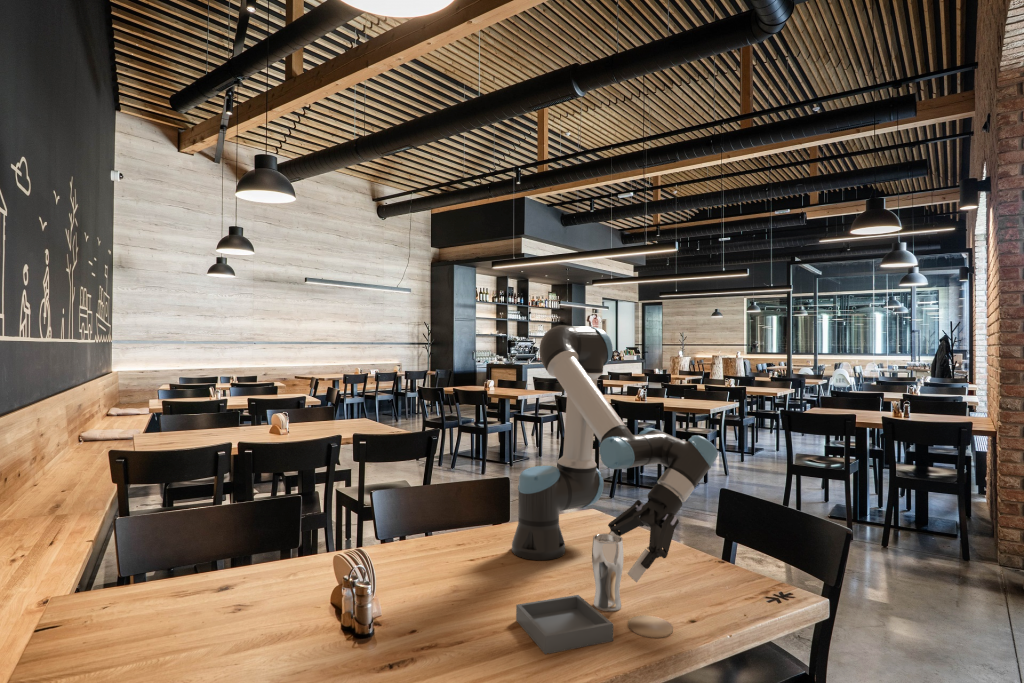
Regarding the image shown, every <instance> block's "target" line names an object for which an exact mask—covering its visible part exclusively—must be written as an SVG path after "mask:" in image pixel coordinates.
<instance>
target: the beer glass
mask: <svg viewBox="0 0 1024 683" xmlns="http://www.w3.org/2000/svg"><path fill="white" fill-rule="evenodd" d="M623 542H624V540H623V537H621V536H618V535H614V534H609V533H599V534H595V535H593V537H592V546H591V547H592V548H591V564H592V571H593V577H594V578H593V579H594V583H595V584H594V586H595V593H594V598H593V607H594V608H595V609H596V610H598V611H599V610H600V611H603V612H617V611H620V610H621V608H622V600H621V595H620V587H621V580H622V576H623V575H622V574H623V570H624V543H623Z"/></svg>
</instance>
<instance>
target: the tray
mask: <svg viewBox="0 0 1024 683" xmlns="http://www.w3.org/2000/svg"><path fill="white" fill-rule="evenodd" d="M515 609H516V610H515V611H516V613H515V614H516V615H515V621H516V622H517V623H518V624H519V626H520V627H521V628H522V629H523V631H525V633H526V634H527V635H528V636H529V637H530V638H531V639H532V641H533V642H534V643H535V644H536V645H537V647H538V648H539V649H540V650H541V651H542V653H544V655H548V654H547V653H549V654H553V653H558V652H564V651H568V650H573V649H579V648H584V647H589V646H595V645H599V644H604V643H609V642H613V641H614V623H613V622H612V621H610V619H608V618H607V617H606V616H605V615H603V614H602V613H601V612H600V611H599V610H598V609H597V608H596V607H595V606H593V605H591V603H589V602H588V601H586V599H584V598H583V597H582V596H580V595H579V594H575V595H568V596H564V597H563V596H562V597H555V598H549V599H543V600H538V601H537V600H536V601H530V602H525V603H519V604H516V606H515Z"/></svg>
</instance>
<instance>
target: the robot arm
mask: <svg viewBox="0 0 1024 683" xmlns="http://www.w3.org/2000/svg"><path fill="white" fill-rule="evenodd" d="M538 350H539V357H540V361H541V364H542V366H543V368H544V369H545V370H546V372H547V374H548V375H549V376H551V377H555V378H556V380H557V381H558V383H559V384H560V386H561V387H562V389H563V390H564V391H565V393H566V408H565V420H564V421H565V422H564V437H563V438H564V439H563V453H562V456H561V457H560V458H559V459H558V460H557V466H553V465H542V466H541V465H537V466H536V465H535V466H531V467H528V468H526V469H524V470H522V471H521V472H520V474H519V476H518V477H519V478H518V484H517V485H518V486H517V491H518V506H517V508H518V518H517V519H518V520H517V526H516V529H515V532H514V536H513V540H512V542H511V552H512V554H513V553H514V554H513V555H514V556H516V555H517V557H519V558H521V557H522V559H525V560H533V561H548V560H554V559H558V558H560V557H562V556H564V555H565V553H566V543H565V540H564V536H563V533H562V530H561V527H560V512H562V511H563V512H564V511H570V510H573V509H579V508H582V509H583V508H586V507H588V506H591V505H594V504H596V503H597V502H599V500H600V498H601V497H602V494H603V491H604V477H603V476H602V472H601V471H600V470H599V469H598V468H597V466H598V465H597V463H596V461H595V460H594V459H593V446H594V445H593V444H594V435H595V437H596V438H597V440H598V441H599V443H600V444H599V448H598V449H599V450H598V451H599V452H598V454H599V455H600V461H601V462H602V464H603V465H604V466H606V467H607V468H608V469H611V470H621V469H622V470H626V469H630V468H635V467H641V466H648V465H650V466H651V465H657V464H658V465H659V464H660V465H662V466H664V467H667V469H665V470H664V472H663V473H662V475H661V476H660V477H659V479H657V483H656V484H654V485H653V487H652V488H651V489H650V490H649V492H648V494H647V502H645V503H643V502H642V501H641V500H640V499H637V500H636V501H635V502H634V503H633V504H632V505H631V506H630V507H629V508H627V509H626V510H624V512H622V513H621V514H619V515H618V516H617V517H616V518H614V519H613V520H611V521H610V522H609V523H608V525H607V527H608V528H609V529H610V532H609V533H608V534H614V535H618V536H620V537H621V536H623V535H625V534H626V533H629V532H630V531H632V530H635V529H636V528H638V527H648V528H649V529H650V530H649V542H648V543H649V544H648V546H647V547H646V548H644V550H642V553H641V554H640V555H639V557H638V558H637V560H635V562H634V563H633V565H632V566H631V568H629V570H628V571H627V575H628V576H629V577H630V578H631V579H632V580H633V581H634V582H635V583H638V582H639V581H640V579H641V578H642V576H643V575H644V574H645V572H646V571H647V570H648V569H650V567H651V566H652V564H653V563H654V562H655V560H656V559H658V558H662V559H666V558H667V557H668V555H669V551H670V547H671V544H672V540H673V537H674V532H675V529H676V528H677V526H678V524H679V523H680V520H679V519H678V518H677V517H676V515H677V513H678V512H679V511H680V510H681V508H682V507H683V503H686V502H687V500H688V498H689V497H690V496H691V495H692V493H693V491H694V490H695V489H696V488H697V486H698V484H699V483H700V482H701V480H702V479H703V478H704V476H706V474H707V473H708V471H709V470H710V469H711V468H712V466H713V465H714V463H715V461H716V459H717V458H718V456H719V455H718V454H719V452H718V449H717V447H716V446H715V445H714V444H713V443H712V442H711V441H710V440H708V438H705V437H704V436H701V435H699V434H698V435H691V437H690V438H688V440H687V441H686V440H683V439H680V438H678V437H676V436H673V435H671V434H668V433H666V432H664V431H662V430H660V429H655V428H652V427H646V428H644V429H643V430H641V431H640V432H639V434H633V433H632V432H631V430H630V429H629V428H628V427H627V425H626V424H625V423H624V422H623V420H622V419H621V417H620V416H619V415H618V413H617V412H616V410H615V409H614V408H613V405H611V404H610V402H609V401H608V399H607V398H606V397H605V395H604V394H603V393H602V391H601V390H600V389H599V387H598V379H599V378H600V376H602V375H603V373H604V367H605V366H606V365H607V364H609V362H610V361H611V360H612V356H613V352H614V351H613V350H614V349H613V343H612V340H611V337H610V336H609V335H608V333H607V332H606V331H605V330H603V329H602V328H600V327H595V326H589V325H588V326H586V325H585V326H582V325H581V326H580V325H579V326H578V325H577V326H576V325H557V326H553V327H552V328H550V329H549V330H548V331H546V332H545V333H544V334H543V336H542V338H541V340H540V344H539V349H538Z"/></svg>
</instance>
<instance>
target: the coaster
mask: <svg viewBox="0 0 1024 683" xmlns="http://www.w3.org/2000/svg"><path fill="white" fill-rule="evenodd" d="M627 627H628V629H629V630H630V631H631V632H632V633H634V634H636V635H638V636H642V637H645V638H653V639H661V638H666V637H669V636H671V635H672V634H673V632H674V626H673V625H672V623H671V622H669V621H668V620H666V619H664V618H662V617H658V616H655V615H644V614H643V615H636V616H633V617H631V618H630V619H628V621H627Z"/></svg>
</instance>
